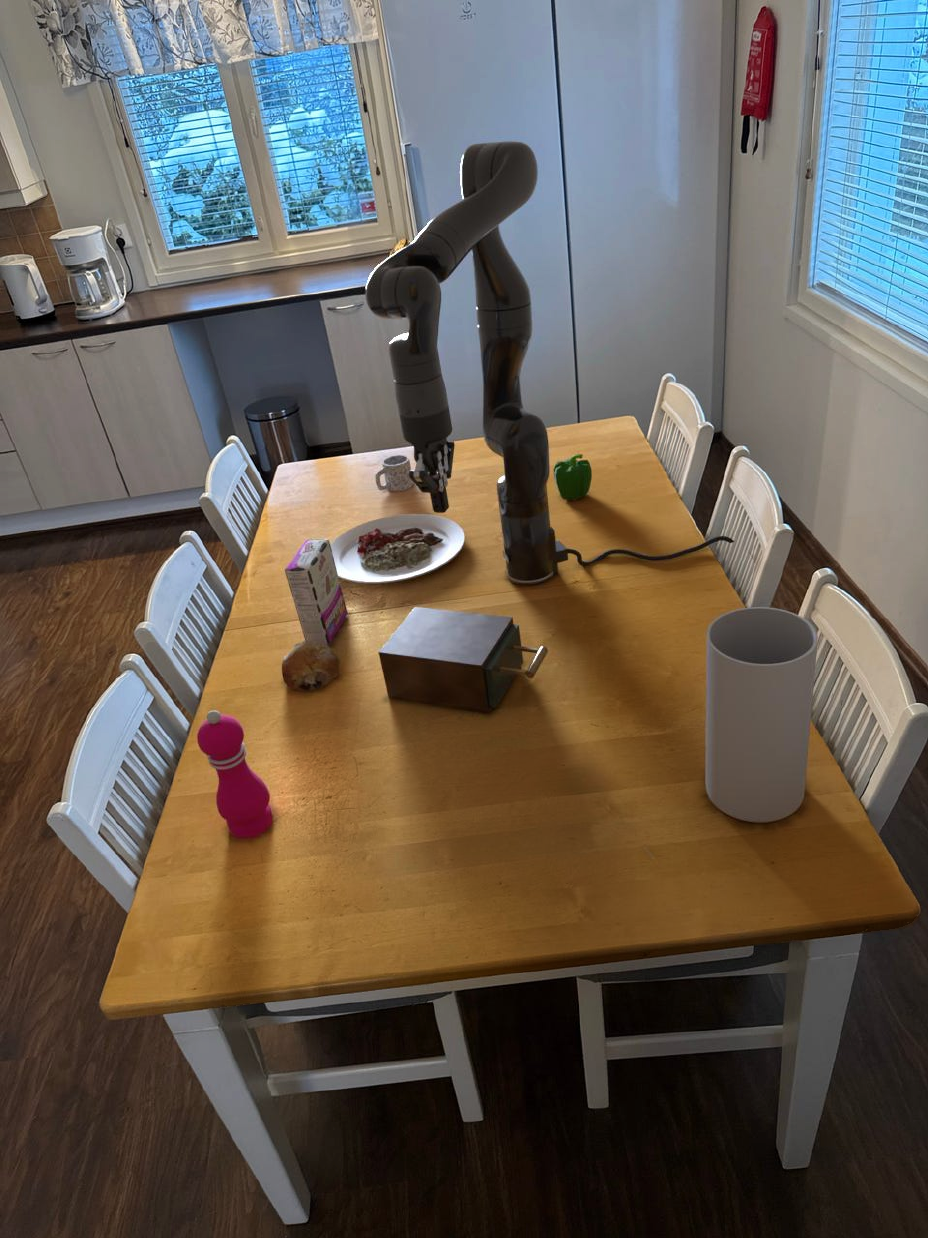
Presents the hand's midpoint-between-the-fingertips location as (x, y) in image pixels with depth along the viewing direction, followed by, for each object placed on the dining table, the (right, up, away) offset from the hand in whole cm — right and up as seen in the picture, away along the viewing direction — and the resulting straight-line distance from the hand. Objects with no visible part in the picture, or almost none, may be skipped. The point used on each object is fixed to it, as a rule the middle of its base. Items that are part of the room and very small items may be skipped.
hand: (441, 510), depth 145 cm
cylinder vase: (+42, -40, -24) cm, 63 cm away
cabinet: (+2, -28, +7) cm, 28 cm away
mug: (-13, +15, +78) cm, 81 cm away
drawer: (+6, -27, +4) cm, 28 cm away
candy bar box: (-22, -19, +26) cm, 39 cm away
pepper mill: (-26, -46, -16) cm, 56 cm away
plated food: (-11, -3, +48) cm, 50 cm away
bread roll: (-23, -27, +13) cm, 38 cm away
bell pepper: (+28, +10, +61) cm, 68 cm away
